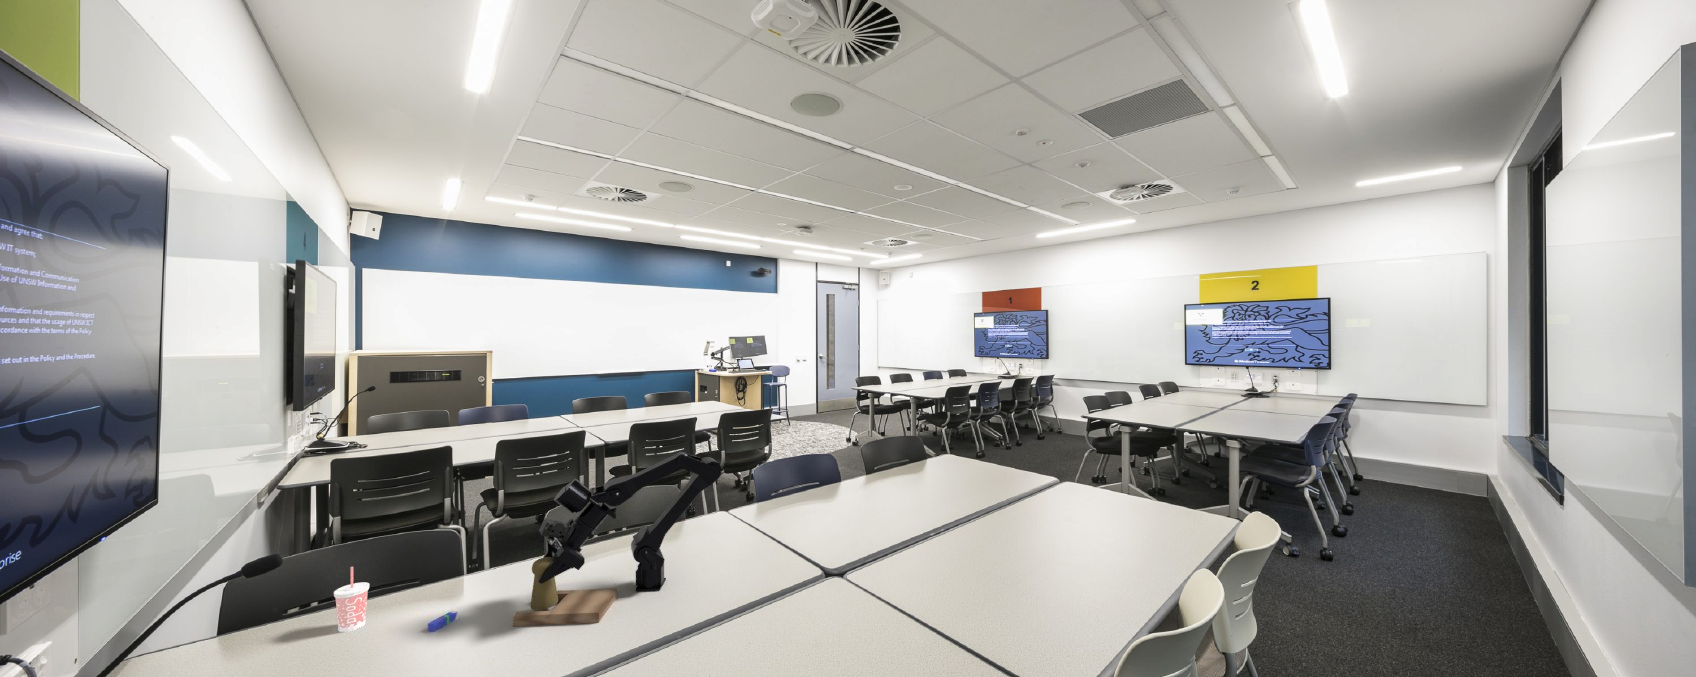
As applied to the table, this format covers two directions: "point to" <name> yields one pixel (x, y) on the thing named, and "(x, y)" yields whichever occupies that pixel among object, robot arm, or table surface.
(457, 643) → the table surface
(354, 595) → the beverage cup
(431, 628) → the eraser
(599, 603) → the notched board
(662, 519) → the robot arm
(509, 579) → the table surface
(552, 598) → the cork
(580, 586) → the table surface
